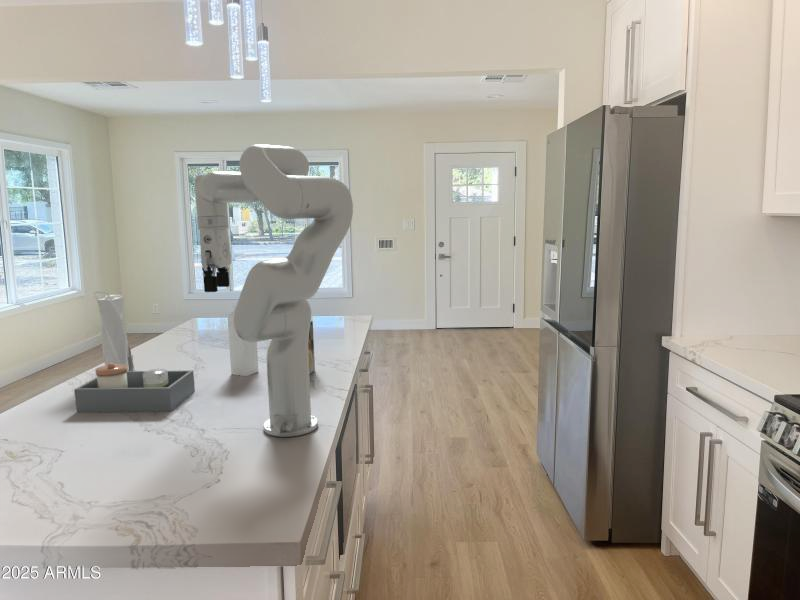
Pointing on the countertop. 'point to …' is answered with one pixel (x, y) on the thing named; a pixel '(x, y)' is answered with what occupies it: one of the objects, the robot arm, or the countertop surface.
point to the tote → (135, 394)
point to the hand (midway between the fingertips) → (217, 289)
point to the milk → (241, 352)
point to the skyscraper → (114, 331)
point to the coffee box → (311, 349)
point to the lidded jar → (112, 376)
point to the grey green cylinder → (155, 378)
